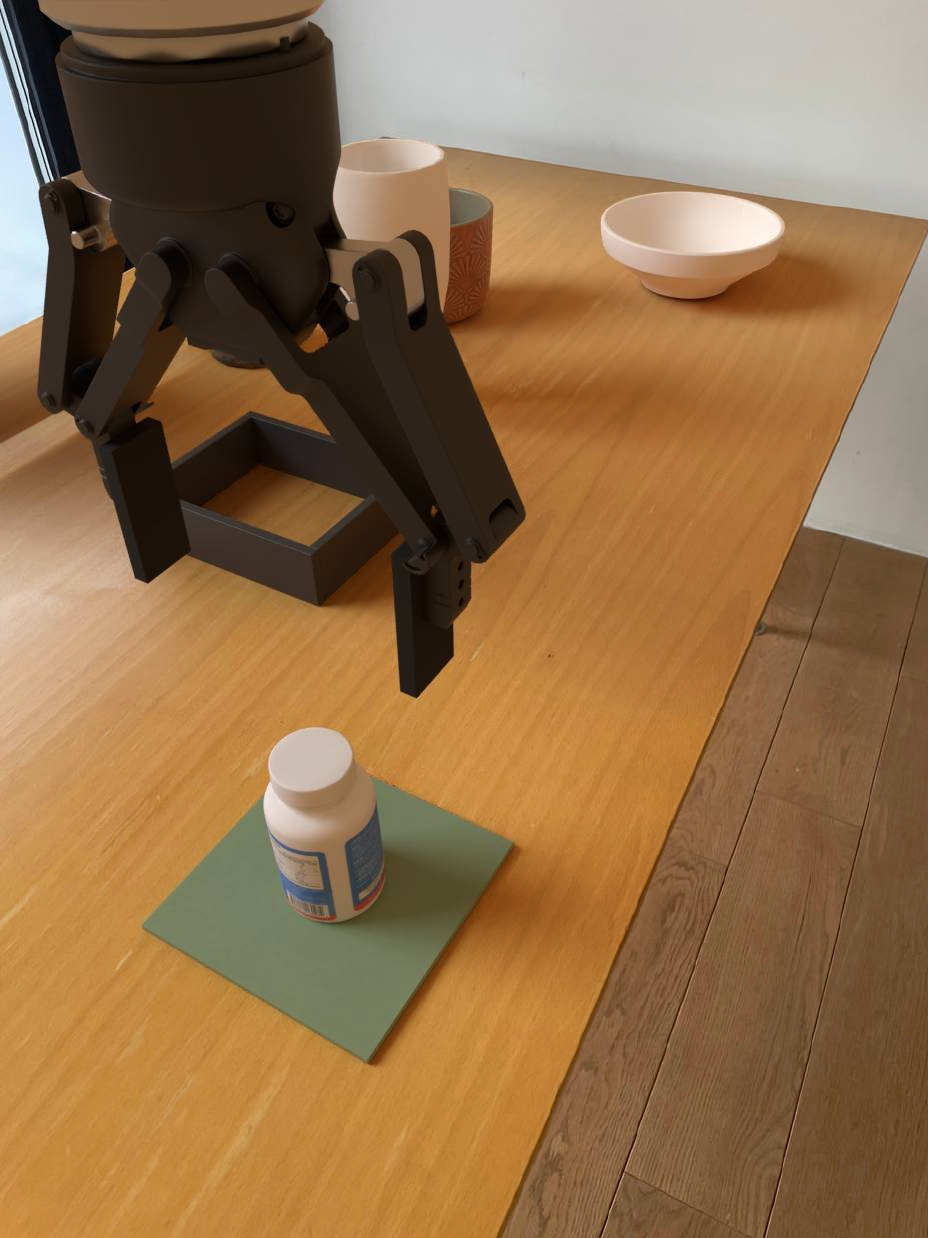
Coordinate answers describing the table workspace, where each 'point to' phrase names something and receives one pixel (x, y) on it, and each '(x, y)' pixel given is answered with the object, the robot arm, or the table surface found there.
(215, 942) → the mat
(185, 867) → the table surface
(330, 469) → the frame
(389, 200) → the cup
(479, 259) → the planter
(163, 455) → the robot arm
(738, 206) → the bowl
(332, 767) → the pill bottle
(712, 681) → the table surface
